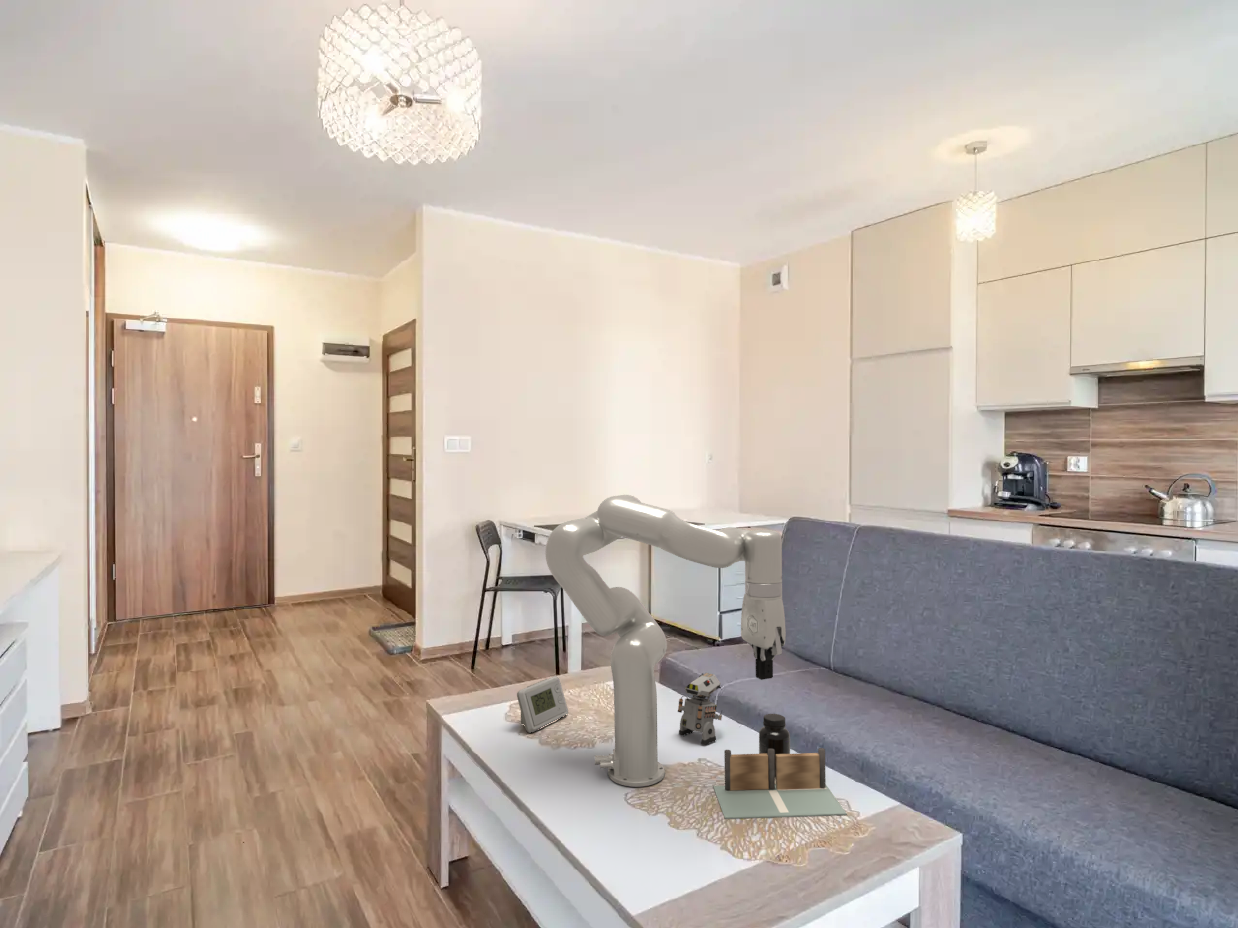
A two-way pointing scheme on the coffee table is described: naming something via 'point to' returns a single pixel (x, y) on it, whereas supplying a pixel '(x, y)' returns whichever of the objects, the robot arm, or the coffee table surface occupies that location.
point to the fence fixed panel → (801, 770)
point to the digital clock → (542, 703)
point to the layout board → (777, 803)
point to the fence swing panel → (749, 771)
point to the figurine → (700, 708)
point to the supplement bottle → (774, 736)
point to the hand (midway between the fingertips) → (764, 677)
